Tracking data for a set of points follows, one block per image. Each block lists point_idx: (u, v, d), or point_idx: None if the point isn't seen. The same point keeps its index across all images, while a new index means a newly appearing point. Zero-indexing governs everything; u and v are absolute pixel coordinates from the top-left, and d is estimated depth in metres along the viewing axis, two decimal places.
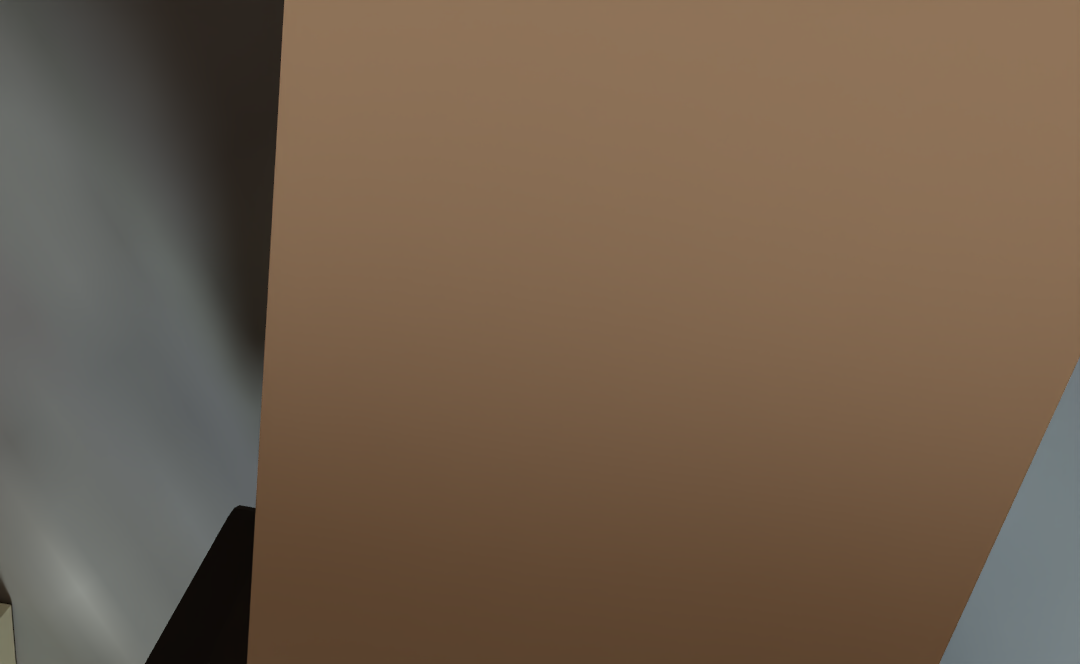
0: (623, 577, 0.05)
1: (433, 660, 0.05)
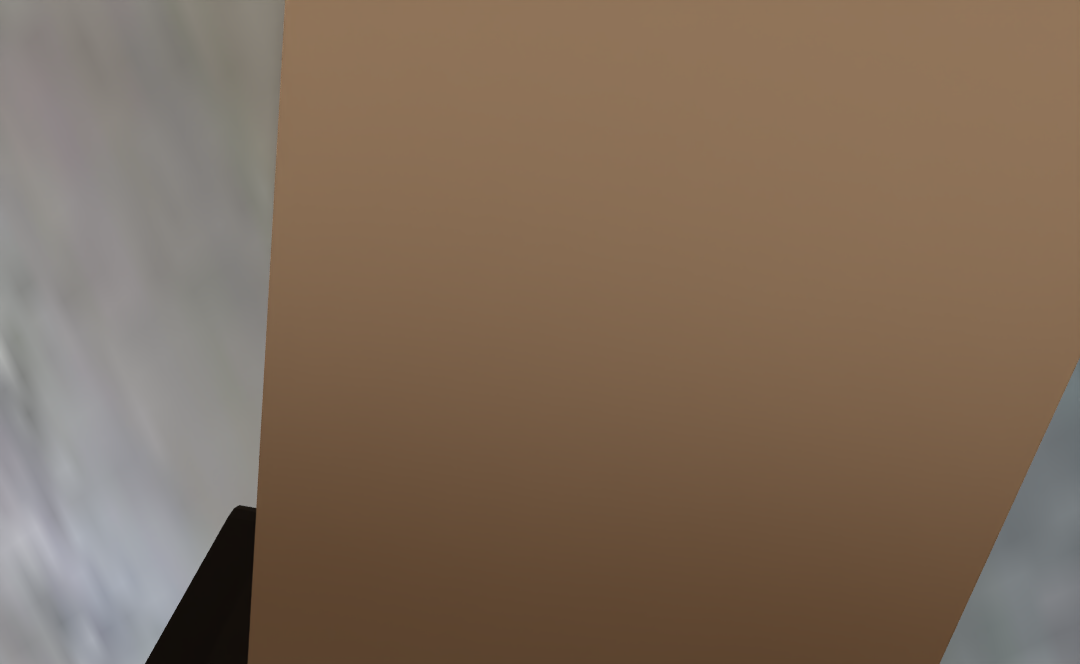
0: (620, 585, 0.05)
1: None
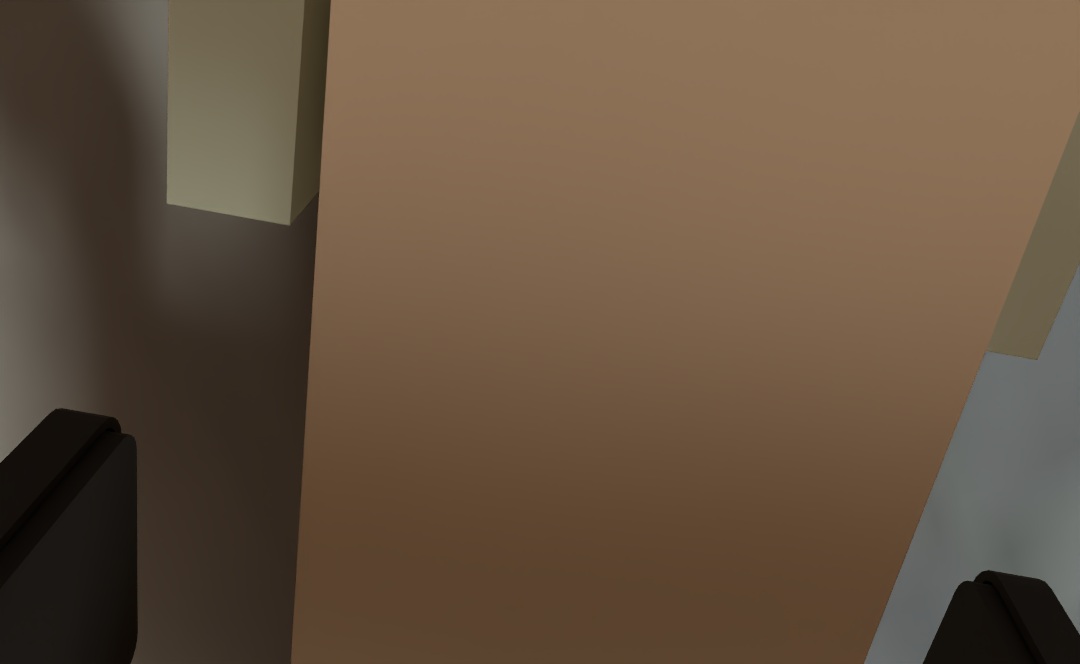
0: (620, 507, 0.06)
1: (457, 583, 0.06)
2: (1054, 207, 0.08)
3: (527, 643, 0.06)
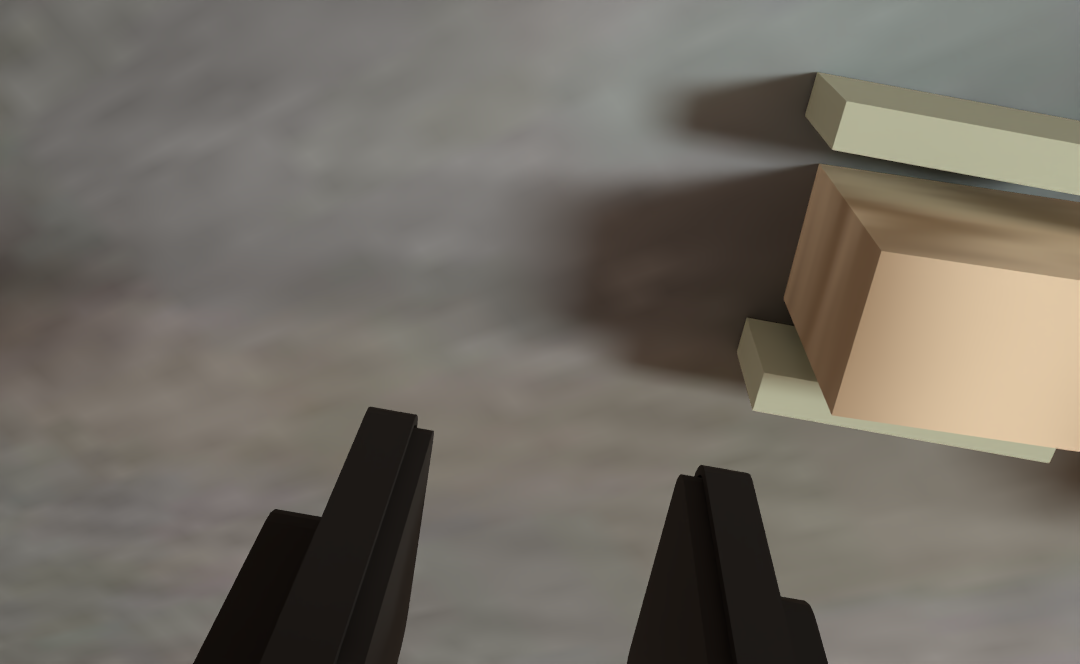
0: None
1: None
2: None
3: None
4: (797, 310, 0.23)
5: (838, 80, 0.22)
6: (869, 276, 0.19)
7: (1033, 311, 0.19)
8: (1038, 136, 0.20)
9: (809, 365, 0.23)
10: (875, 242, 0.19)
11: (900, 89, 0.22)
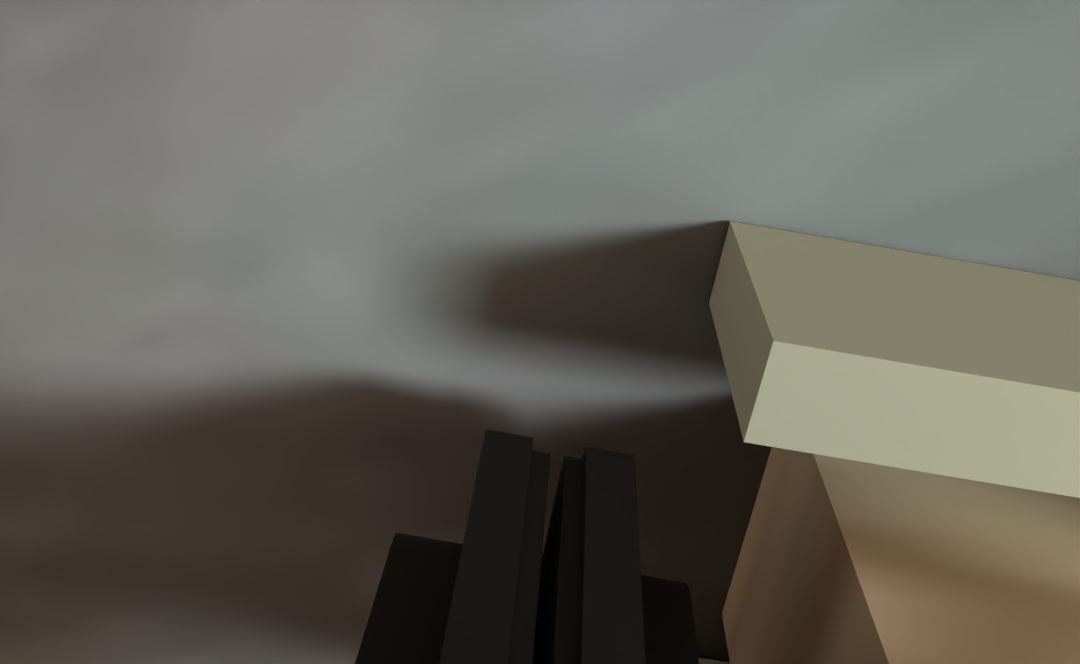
0: None
1: None
2: None
3: None
4: None
5: (770, 247, 0.10)
6: None
7: None
8: None
9: None
10: None
11: (901, 258, 0.11)
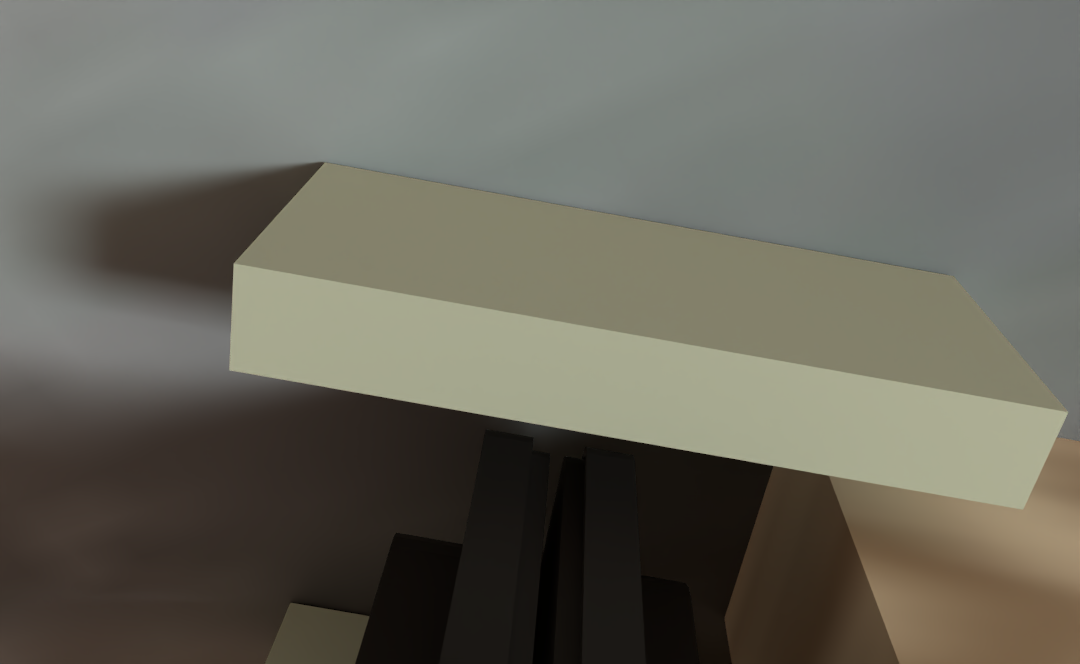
0: None
1: None
2: (906, 423, 0.08)
3: None
4: None
5: (341, 185, 0.10)
6: None
7: None
8: (706, 345, 0.08)
9: None
10: None
11: (490, 200, 0.11)
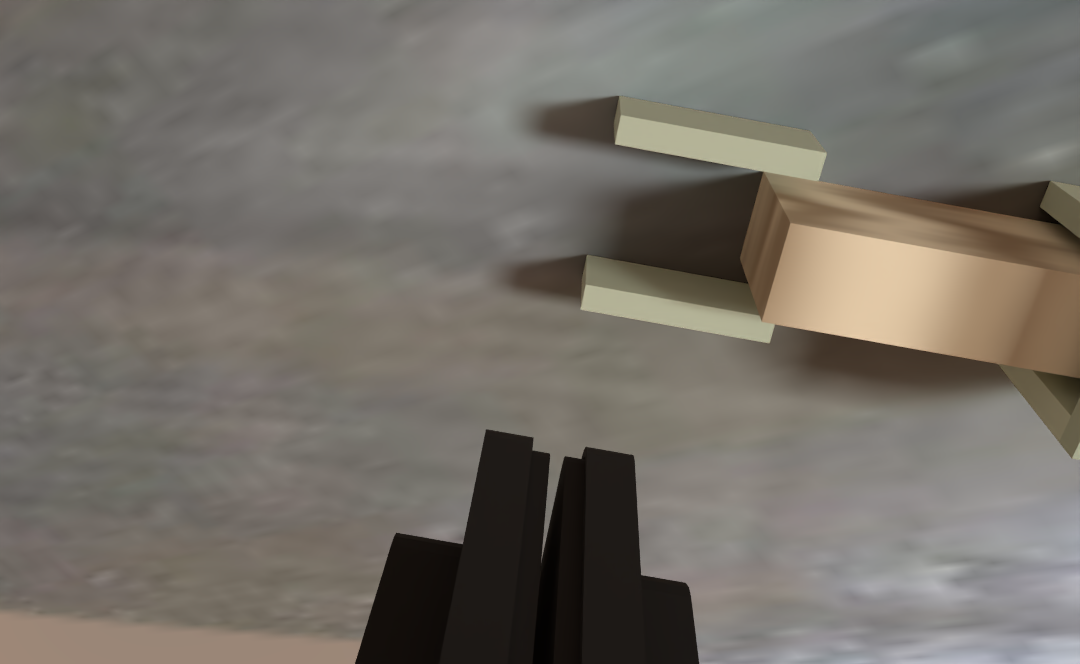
0: (972, 306, 0.33)
1: (985, 334, 0.33)
2: (786, 156, 0.34)
3: (1002, 322, 0.33)
4: (747, 264, 0.37)
5: (629, 101, 0.35)
6: (784, 238, 0.32)
7: (878, 261, 0.32)
8: (736, 136, 0.33)
9: (618, 281, 0.37)
10: (788, 218, 0.32)
11: (670, 106, 0.36)
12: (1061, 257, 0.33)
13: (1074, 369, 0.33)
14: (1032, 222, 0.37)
